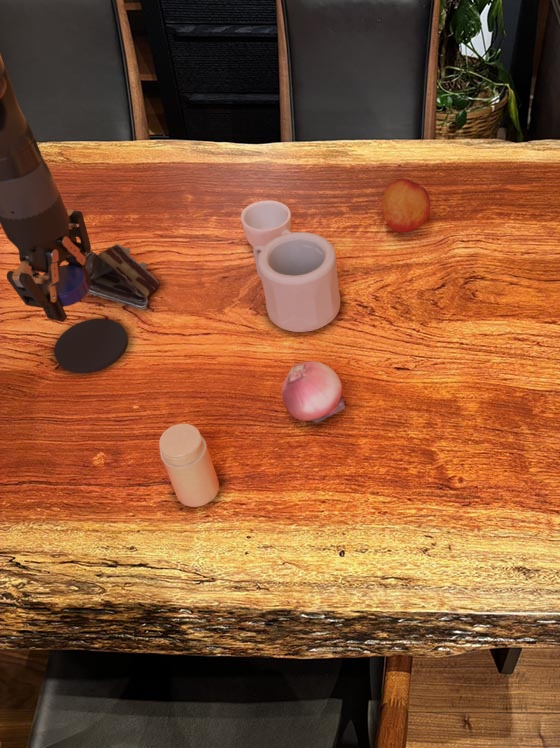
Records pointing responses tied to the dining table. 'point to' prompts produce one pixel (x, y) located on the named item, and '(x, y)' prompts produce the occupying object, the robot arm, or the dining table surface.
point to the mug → (299, 280)
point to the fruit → (405, 205)
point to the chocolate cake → (120, 277)
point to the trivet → (91, 346)
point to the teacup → (265, 221)
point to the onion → (312, 392)
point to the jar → (188, 465)
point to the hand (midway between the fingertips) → (71, 302)
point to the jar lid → (70, 284)
